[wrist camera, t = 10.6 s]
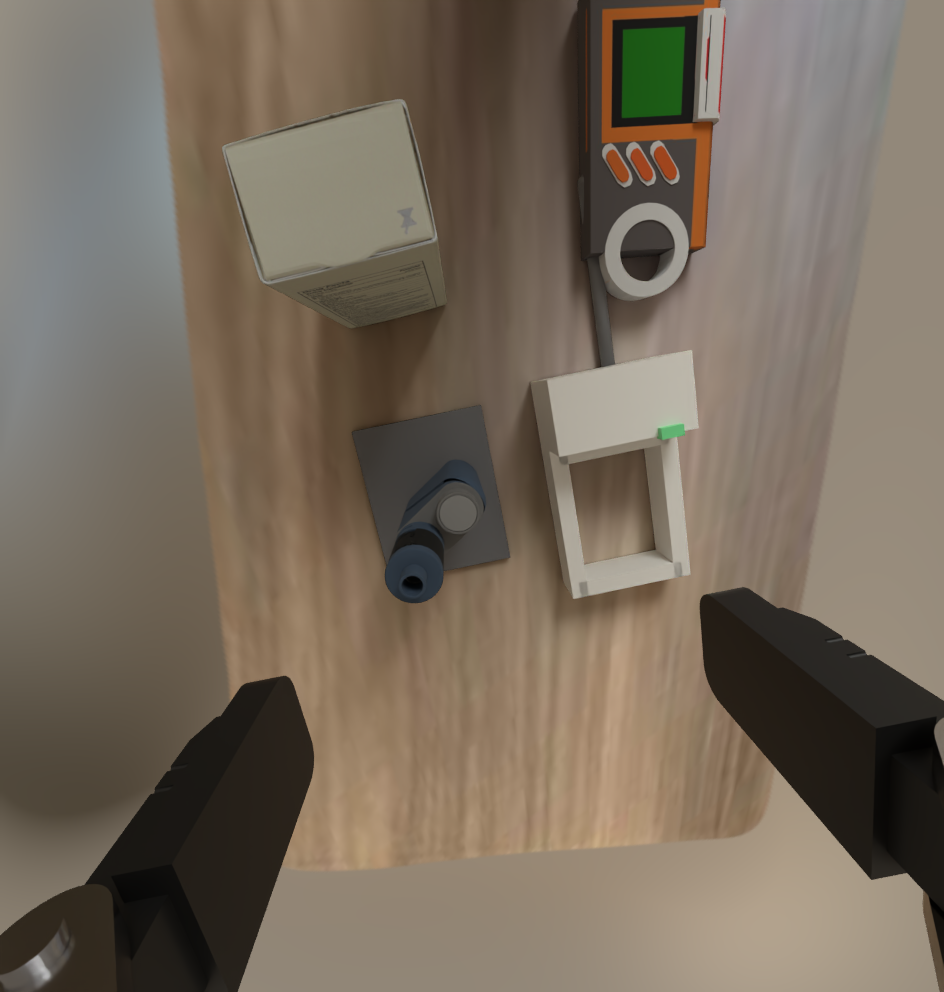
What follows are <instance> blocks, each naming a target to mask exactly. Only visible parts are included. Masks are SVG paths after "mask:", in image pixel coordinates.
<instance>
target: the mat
mask: <svg viewBox="0 0 944 992" xmlns="http://www.w3.org/2000/svg"><path fill="white" fill-rule="evenodd" d="M352 435H353V439H354V443H355V447H356V450H357V454H358V458H359V462H360V466H361V470H362V473H363V477H364V481H365V485H366V489H367V493H368V496H369V500H370V504H371V508H372V512H373V516H374V519H375V523H376V527H377V531H378V535H379V539H380V542H381V546H382V550H383V554H384V558H385V562H386V565H387V564H388V561H389V558H390V556H391V553H392V550H393V547H394V539H395V536H396V534H397V532H398V529H399V526H400V523H401V521H402V518H403V515H404V512H405V510H406V507H407V504H408V502H409V500H410V499H411V498H412V497H413V496H414V495H415V494H416V493H417V492H418V491H419V490H420V489H421V488H422V487H423V486H424V485H425V484H426V483H427V482H428V481H429V480H430V479H431V478H432V477H433V476H434V475H435V474H436V473H437V472H438V471H439V470H440V469H441V468H442V467H443V466H444V465H445V464H446V463H447V462H448V461H451V460H462V461H465V462H467V463H469V464H470V465H471V466H473V468H474V469H475V470H476V472H477V474H478V477H479V480H480V482H481V485H482V488H483V491H484V494H485V497H486V507H485V511H484V512H483V516H482V518H481V520H480V521H479V522H478V523H477V524H476V526H475V527H474V528H473V529H472V530H471V531H469V532H468V533H467V534H466V535H464V536H463V537H462V538H461V539H460V540H459V541H458V542H457V543H456V544H455V545H454V546H453V547H452V548H451V549H450V550H449V551H448V552H447V553H446V554H445V555H444V570H443V571H447V570H452V569H457V568H462V567H466V566H471V565H476V564H481V563H486V562H490V561H495V560H500V559H505V558H509V557H510V553H509V548H508V543H507V538H506V532H505V527H504V522H503V517H502V512H501V507H500V501H499V496H498V491H497V486H496V481H495V476H494V470H493V465H492V460H491V455H490V450H489V445H488V440H487V434H486V429H485V424H484V419H483V414H482V409H481V405H478V406H473V407H469V408H464V409H459V410H454V411H449V412H444V413H440V414H435V415H430V416H425V417H420V418H416V419H411V420H406V421H401V422H396V423H391V424H387V425H382V426H377V427H372V428H367V429H363V430H358V431H353V432H352ZM392 555H393V554H392Z"/></svg>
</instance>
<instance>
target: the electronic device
mask: <svg viewBox="0 0 944 992" xmlns="http://www.w3.org/2000/svg"><path fill="white" fill-rule="evenodd" d="M720 1H721V0H578V119H579V171H580V177H581V176H582V175H583V176H584V219H583V224H582V217H581V209H580V224H581V261H584V260H587V259H588V258H591V257H599V263H600V269H601V273H602V276H603V279H604V282H605V288H606V291H607V292H608V293H610V294H611V295H612V296H614V297H616V298H618V299H621V300H625V301H637V300H642V299H645V298H648V297H651V296H653V295H656V294H659V293H661V292H663V291H664V290H666V289H667V288H669V287H670V286H671V285H672V284H673V283H674V282H675V281H676V280H677V278H678V277H679V276H680V274H681V272H682V270H683V268H684V266H685V263H686V260H687V257H688V253H693V252H696V251H698V250H700V249H702V248H704V247H705V246H706V229H707V213H708V197H709V180H710V164H711V148H712V131H713V125H715V124H716V123H717V122H718V121H719V116H720V100H721V85H722V69H723V54H724V38H725V22H726V10H725V8H720ZM646 249H650V250H646ZM629 250H635V251H629ZM658 255H660V262H659V265H658V268H657V271H656V273H655V274H654V275H653V277H652V278H651V279H650V280H649V281H639V280H636V279H634V278H632V277H631V276H630V275H629V274H628V273H627V272H626V271H625V269H624V267H623V265H622V262H621V258H628V257H643V256H658Z"/></svg>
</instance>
